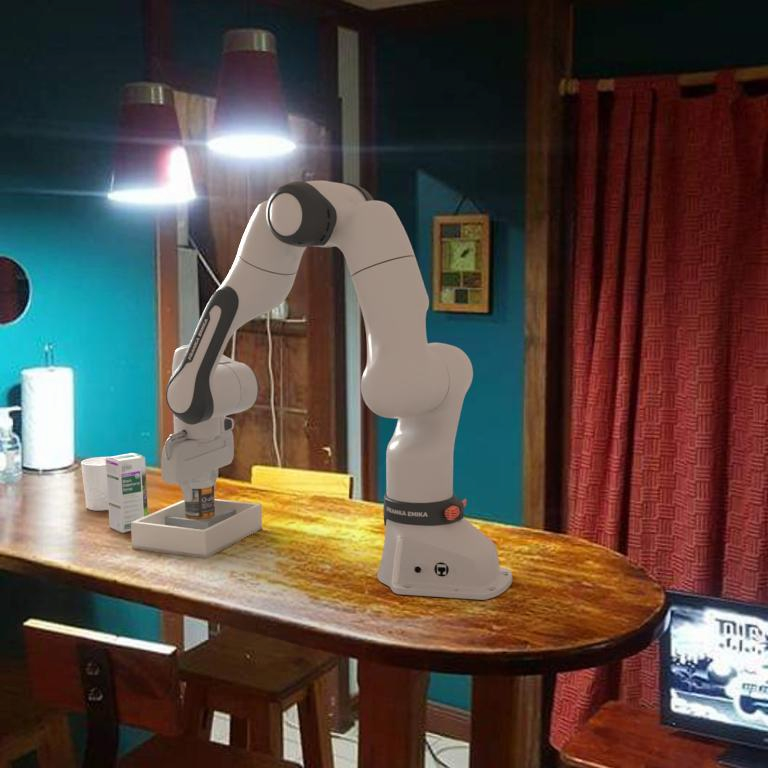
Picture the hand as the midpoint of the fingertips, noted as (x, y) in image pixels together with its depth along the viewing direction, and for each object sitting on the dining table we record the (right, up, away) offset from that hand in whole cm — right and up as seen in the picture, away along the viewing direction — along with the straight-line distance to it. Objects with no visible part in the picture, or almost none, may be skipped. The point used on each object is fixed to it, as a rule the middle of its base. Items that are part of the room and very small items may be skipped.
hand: (199, 496), depth 201 cm
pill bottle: (0, -5, +1) cm, 5 cm away
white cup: (-24, -5, +19) cm, 31 cm away
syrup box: (-15, -7, +3) cm, 16 cm away
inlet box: (+1, -8, -4) cm, 9 cm away
